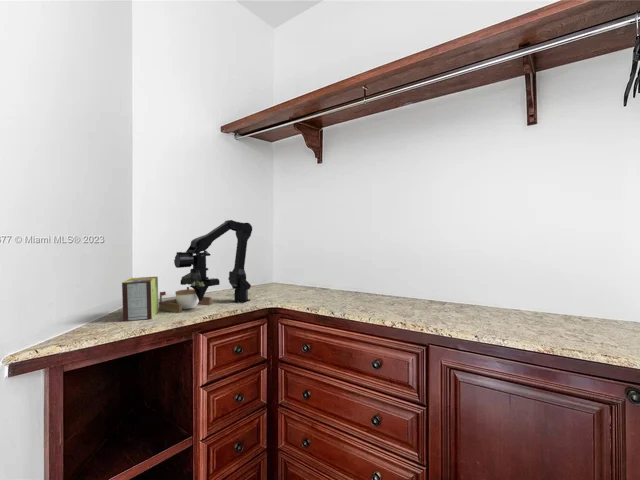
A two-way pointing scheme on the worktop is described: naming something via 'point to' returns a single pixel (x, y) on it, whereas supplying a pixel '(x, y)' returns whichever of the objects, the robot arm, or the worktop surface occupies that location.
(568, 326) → the worktop surface
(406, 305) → the worktop surface
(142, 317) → the protein box
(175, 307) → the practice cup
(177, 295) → the lidded jar
